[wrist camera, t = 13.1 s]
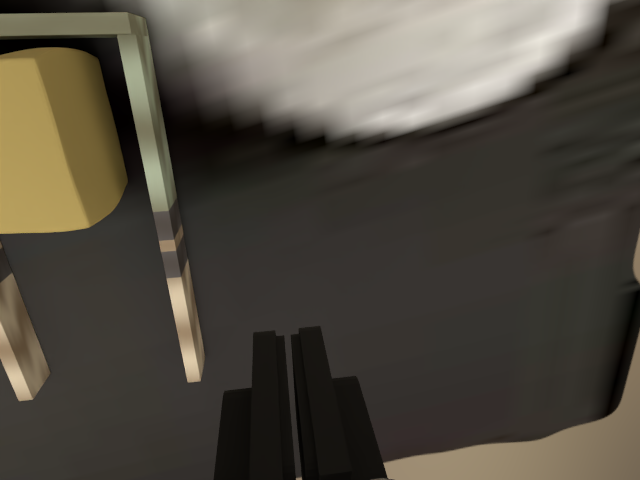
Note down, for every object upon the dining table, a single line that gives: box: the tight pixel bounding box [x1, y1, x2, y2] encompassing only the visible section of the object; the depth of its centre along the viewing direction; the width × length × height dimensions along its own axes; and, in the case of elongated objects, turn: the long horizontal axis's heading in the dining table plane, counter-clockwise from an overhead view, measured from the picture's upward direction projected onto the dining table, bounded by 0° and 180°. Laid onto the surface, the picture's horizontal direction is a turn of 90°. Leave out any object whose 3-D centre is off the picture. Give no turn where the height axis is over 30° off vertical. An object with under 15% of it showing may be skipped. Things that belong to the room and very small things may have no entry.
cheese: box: [0, 47, 128, 234], centre depth 28 cm, size 10×11×10 cm
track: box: [0, 12, 205, 401], centre depth 33 cm, size 31×16×4 cm, turn 1°
